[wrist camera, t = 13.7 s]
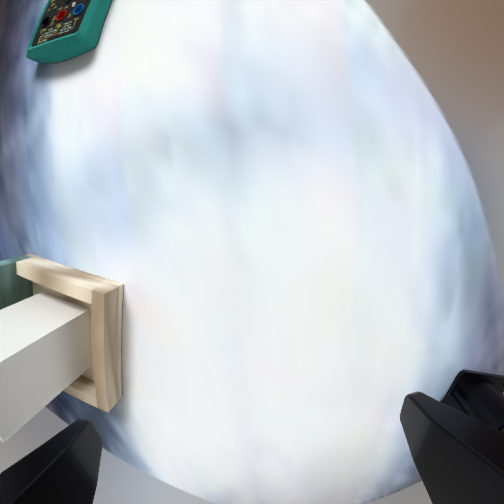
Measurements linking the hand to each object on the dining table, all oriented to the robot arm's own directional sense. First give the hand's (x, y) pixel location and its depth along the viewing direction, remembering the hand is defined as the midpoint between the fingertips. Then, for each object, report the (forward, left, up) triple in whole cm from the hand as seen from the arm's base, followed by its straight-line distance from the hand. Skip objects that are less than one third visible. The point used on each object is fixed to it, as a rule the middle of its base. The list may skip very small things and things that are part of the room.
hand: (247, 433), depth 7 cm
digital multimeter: (+22, -21, -12) cm, 33 cm away
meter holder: (+14, +8, -12) cm, 20 cm away
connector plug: (+14, +8, -11) cm, 20 cm away
